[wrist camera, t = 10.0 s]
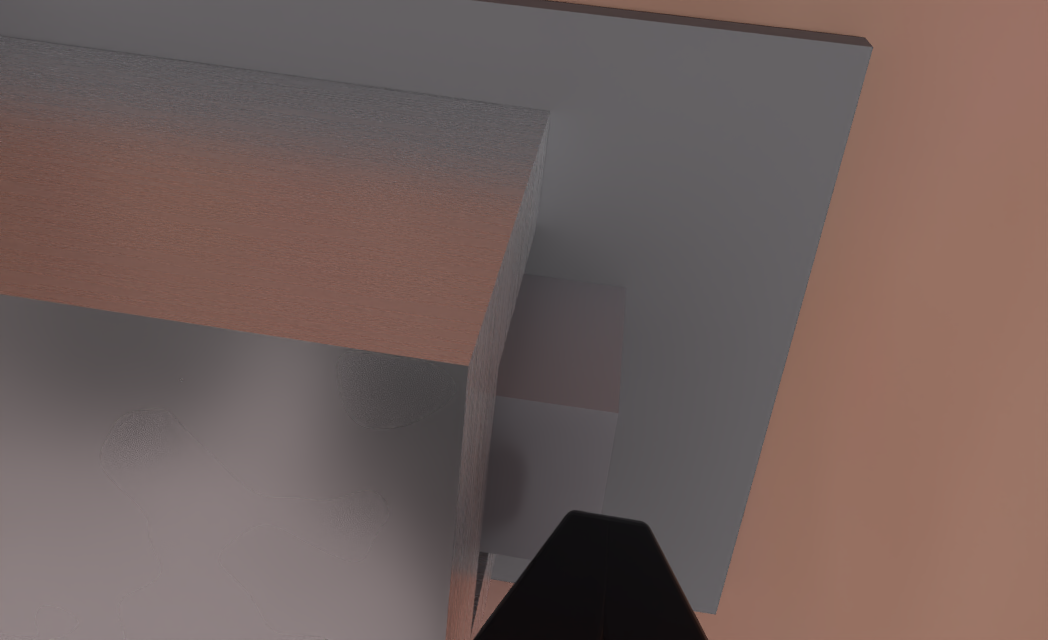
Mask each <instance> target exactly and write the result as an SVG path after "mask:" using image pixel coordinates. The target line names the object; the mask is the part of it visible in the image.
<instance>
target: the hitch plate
mask: <svg viewBox="0 0 1048 640" xmlns="http://www.w3.org/2000/svg"><path fill="white" fill-rule="evenodd" d="M0 36H5V37H12V38H20V39H27V40H34V41H42V42H49V43H56V44H63V45H71V46H78V47H85V48H93V49H100V50H107V51H114V52H122V53H129V54H136V55H143V56H151V57H158V58H165V59H173V60H180V61H187V62H194V63H202V64H209V65H216V66H223V67H231V68H238V69H245V70H253V71H260V72H267V73H274V74H282V75H289V76H296V77H304V78H311V79H318V80H325V81H333V82H340V83H347V84H354V85H362V86H369V87H376V88H384V89H391V90H398V91H405V92H413V93H420V94H427V95H435V96H442V97H449V98H456V99H464V100H471V101H478V102H485V103H493V104H500V105H507V106H515V107H522V108H529V109H536V110H544V111H551V112H550V120H549V129H548V137H547V146H546V154H545V162H544V171H543V179H542V188H541V196H540V204H539V213H538V221H537V226H536V230H535V234H534V237H533V241H532V245H531V248H530V252H529V256H528V259H527V263H526V267H525V271H524V274H523V278H522V282H521V285H520V289H519V293H518V297H517V300H516V304H515V308H514V311H513V315H512V319H511V322H510V326H509V330H508V334H507V337H506V341H505V345H504V348H503V352H502V356H501V360H500V363H499V368H498V378H497V387H496V397H495V406H494V416H493V425H492V435H491V445H490V454H489V464H488V473H487V483H486V492H485V502H484V512H483V521H482V531H481V540H480V550H479V552H485V553H492V554H496V556H495V561H494V566H493V571H492V576H491V579H494V580H500V581H506V582H513V583H515V582H516V581H517V579H518V578H519V577H520V575H521V574H522V573H523V571H524V570H525V569H526V567H527V566H528V565H529V563H530V562H531V561H532V559H533V558H534V557H535V555H536V554H537V553H538V551H539V550H540V549H541V547H542V546H543V544H544V543H545V542H546V540H547V539H548V538H549V536H550V535H551V534H552V532H553V531H554V530H555V528H556V527H557V526H558V524H559V523H560V522H561V520H562V519H563V518H564V516H565V515H566V514H567V513H568V512H569V511H572V510H580V511H586V512H592V513H598V514H604V515H608V516H616V517H622V518H628V519H634V520H639V521H643V522H645V523H646V524H648V525H649V527H650V528H651V530H652V532H653V534H654V536H655V538H656V540H657V542H658V543H659V545H660V547H661V549H662V551H663V553H664V555H665V557H666V559H667V561H668V563H669V565H670V567H671V569H672V571H673V573H674V574H675V576H676V578H677V580H678V582H679V584H680V586H681V588H682V590H683V592H684V594H685V596H686V598H687V600H688V602H689V604H690V606H691V607H692V609H693V611H697V612H703V613H710V614H716V611H717V608H718V604H719V600H720V597H721V593H722V590H723V586H724V582H725V579H726V575H727V572H728V568H729V564H730V561H731V557H732V554H733V550H734V546H735V543H736V539H737V536H738V532H739V528H740V525H741V521H742V518H743V514H744V510H745V507H746V503H747V500H748V496H749V492H750V489H751V485H752V482H753V478H754V474H755V471H756V467H757V464H758V460H759V456H760V453H761V449H762V446H763V442H764V438H765V435H766V431H767V428H768V424H769V420H770V417H771V413H772V409H773V406H774V402H775V399H776V395H777V391H778V388H779V384H780V381H781V377H782V373H783V370H784V366H785V363H786V359H787V355H788V352H789V348H790V345H791V341H792V337H793V334H794V330H795V327H796V323H797V319H798V316H799V312H800V309H801V305H802V301H803V298H804V294H805V291H806V287H807V283H808V280H809V276H810V273H811V269H812V265H813V262H814V258H815V255H816V251H817V247H818V244H819V240H820V237H821V233H822V229H823V226H824V222H825V219H826V215H827V211H828V208H829V204H830V200H831V197H832V193H833V190H834V186H835V182H836V179H837V175H838V172H839V168H840V164H841V161H842V157H843V154H844V150H845V146H846V143H847V139H848V136H849V132H850V128H851V125H852V121H853V118H854V114H855V110H856V107H857V103H858V100H859V96H860V92H861V89H862V85H863V82H864V78H865V74H866V71H867V67H868V64H869V60H870V56H871V53H872V49H873V47H872V45H871V44H870V43H869V42H868V41H867V40H866V38H863V37H854V36H846V35H837V34H828V33H820V32H811V31H803V30H794V29H785V28H777V27H768V26H760V25H751V24H743V23H734V22H725V21H717V20H708V19H700V18H691V17H682V16H674V15H665V14H657V13H648V12H640V11H631V10H622V9H614V8H605V7H597V6H588V5H579V4H571V3H562V2H554V1H545V0H0Z"/></svg>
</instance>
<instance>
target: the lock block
mask: <svg viewBox="0 0 1048 640" xmlns="http://www.w3.org/2000/svg"><path fill="white" fill-rule="evenodd" d="M550 112H551V111H544V110H536V109H529V108H522V107H515V106H507V105H500V104H493V103H485V102H478V101H471V100H464V99H456V98H449V97H442V96H435V95H427V94H420V93H413V92H405V91H398V90H391V89H384V88H376V87H369V86H362V85H354V84H347V83H340V82H333V81H325V80H318V79H311V78H304V77H296V76H289V75H282V74H274V73H267V72H260V71H253V70H245V69H238V68H231V67H223V66H216V65H209V64H202V63H194V62H187V61H180V60H173V59H165V58H158V57H151V56H143V55H136V54H129V53H122V52H114V51H107V50H100V49H93V48H85V47H78V46H71V45H63V44H56V43H49V42H42V41H34V40H27V39H20V38H12V37H5V36H0V640H473V639H474V637H475V636H476V635H477V633H478V632H479V631H480V629H481V624H482V619H483V614H484V609H485V605H486V600H487V595H488V590H489V585H490V580H491V576H492V571H493V566H494V561H495V556H496V554H492V553H485V552H479V550H480V540H481V531H482V521H483V512H484V502H485V492H486V483H487V473H488V464H489V454H490V445H491V435H492V425H493V416H494V406H495V397H496V387H497V378H498V368H499V363H500V360H501V356H502V352H503V348H504V345H505V341H506V337H507V334H508V330H509V326H510V322H511V319H512V315H513V311H514V308H515V304H516V300H517V297H518V293H519V289H520V285H521V282H522V278H523V274H524V271H525V267H526V263H527V259H528V256H529V252H530V248H531V245H532V241H533V237H534V234H535V230H536V226H537V221H538V213H539V204H540V196H541V188H542V179H543V171H544V162H545V154H546V146H547V137H548V129H549V120H550Z"/></svg>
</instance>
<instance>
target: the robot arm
mask: <svg viewBox="0 0 1048 640" xmlns="http://www.w3.org/2000/svg"><path fill="white" fill-rule="evenodd" d="M473 640H708V638H707V637H706V635H705V633H704V631H703V629H702V627H701V625H700V623H699V621H698V619H697V617H696V615H695V613H694V611H693V609H692V607H691V606H690V604H689V602H688V600H687V598H686V596H685V594H684V592H683V590H682V588H681V586H680V584H679V582H678V580H677V578H676V576H675V574H674V573H673V571H672V569H671V567H670V565H669V563H668V561H667V559H666V557H665V555H664V553H663V551H662V549H661V547H660V545H659V543H658V542H657V540H656V538H655V536H654V534H653V532H652V530H651V528H650V527H649V525H648V524H646V523H645V522H643V521H639V520H634V519H628V518H622V517H616V516H608V515H604V514H598V513H592V512H586V511H580V510H572V511H569V512H568V513H567V514H566V515H565V516H564V518H563V519H562V520H561V522H560V523H559V524H558V526H557V527H556V528H555V530H554V531H553V532H552V534H551V535H550V536H549V538H548V539H547V540H546V542H545V543H544V544H543V546H542V547H541V549H540V550H539V551H538V553H537V554H536V555H535V557H534V558H533V559H532V561H531V562H530V563H529V565H528V566H527V567H526V569H525V570H524V571H523V573H522V574H521V575H520V577H519V578H518V579H517V581H516V582H515V584H514V585H513V586H512V588H511V589H510V590H509V592H508V593H507V594H506V596H505V597H504V598H503V600H502V601H501V602H500V604H499V605H498V606H497V608H496V609H495V610H494V612H493V613H492V614H491V616H490V617H489V619H488V620H487V621H486V623H485V624H484V625H483V627H482V628H481V629H480V631H479V632H478V633H477V635H476V636H475V637H474V639H473Z"/></svg>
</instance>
